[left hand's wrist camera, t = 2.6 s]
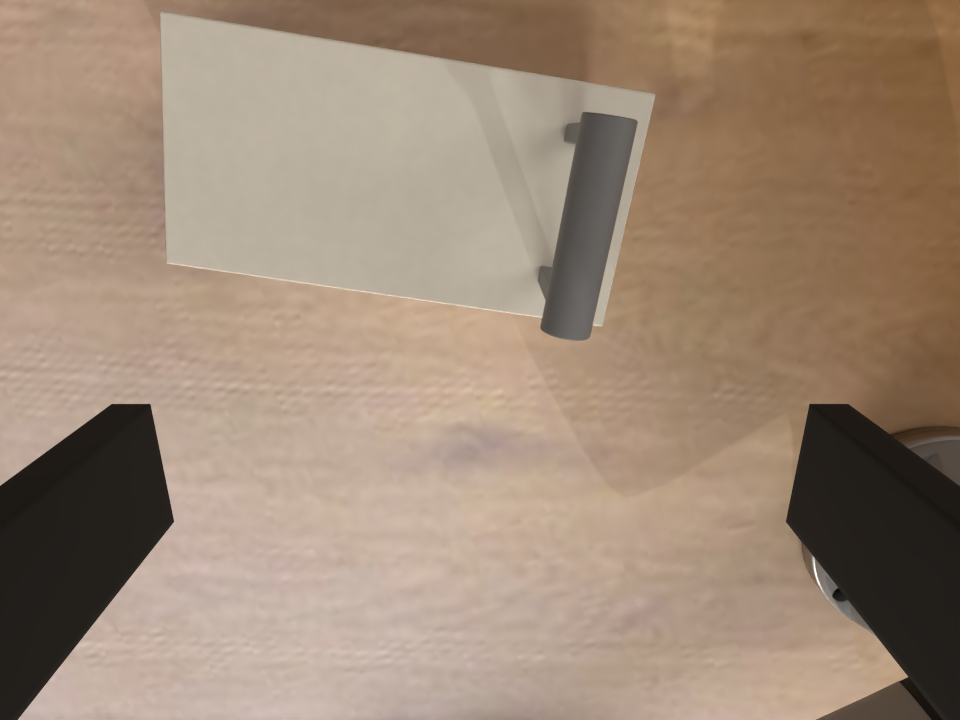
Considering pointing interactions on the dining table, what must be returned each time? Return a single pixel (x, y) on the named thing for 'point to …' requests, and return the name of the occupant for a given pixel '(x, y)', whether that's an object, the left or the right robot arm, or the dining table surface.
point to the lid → (395, 171)
